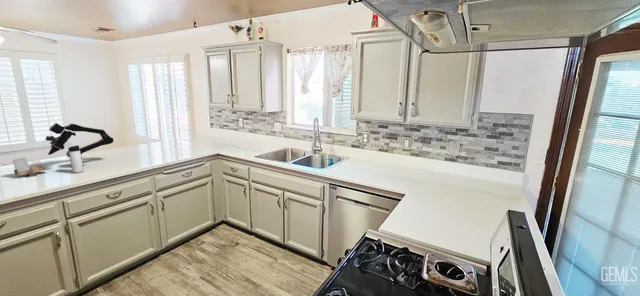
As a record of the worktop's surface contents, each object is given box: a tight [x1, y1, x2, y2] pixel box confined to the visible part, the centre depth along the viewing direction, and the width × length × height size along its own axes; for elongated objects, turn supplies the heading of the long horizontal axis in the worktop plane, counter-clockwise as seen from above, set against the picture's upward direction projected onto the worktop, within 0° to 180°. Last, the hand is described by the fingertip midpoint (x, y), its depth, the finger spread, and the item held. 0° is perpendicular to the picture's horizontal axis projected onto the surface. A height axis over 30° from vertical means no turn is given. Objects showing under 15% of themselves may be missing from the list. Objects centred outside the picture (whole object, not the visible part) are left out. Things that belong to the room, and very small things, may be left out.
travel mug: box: [67, 145, 84, 174], centre depth 208 cm, size 6×7×20 cm
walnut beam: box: [13, 165, 46, 176], centre depth 202 cm, size 14×8×4 cm, turn 147°
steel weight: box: [12, 157, 31, 173], centre depth 198 cm, size 6×6×9 cm
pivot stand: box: [16, 170, 47, 179], centre depth 203 cm, size 14×11×2 cm
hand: (48, 154), depth 210 cm, fingers closed
